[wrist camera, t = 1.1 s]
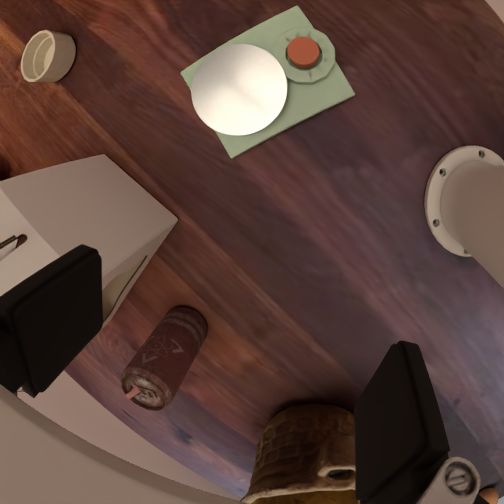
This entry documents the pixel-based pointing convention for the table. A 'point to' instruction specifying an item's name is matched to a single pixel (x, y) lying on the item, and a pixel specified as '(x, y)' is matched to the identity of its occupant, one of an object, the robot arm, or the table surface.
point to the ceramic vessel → (305, 458)
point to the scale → (289, 76)
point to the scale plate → (239, 89)
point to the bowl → (48, 56)
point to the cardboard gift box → (80, 224)
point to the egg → (490, 495)
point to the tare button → (303, 52)
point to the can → (164, 359)
